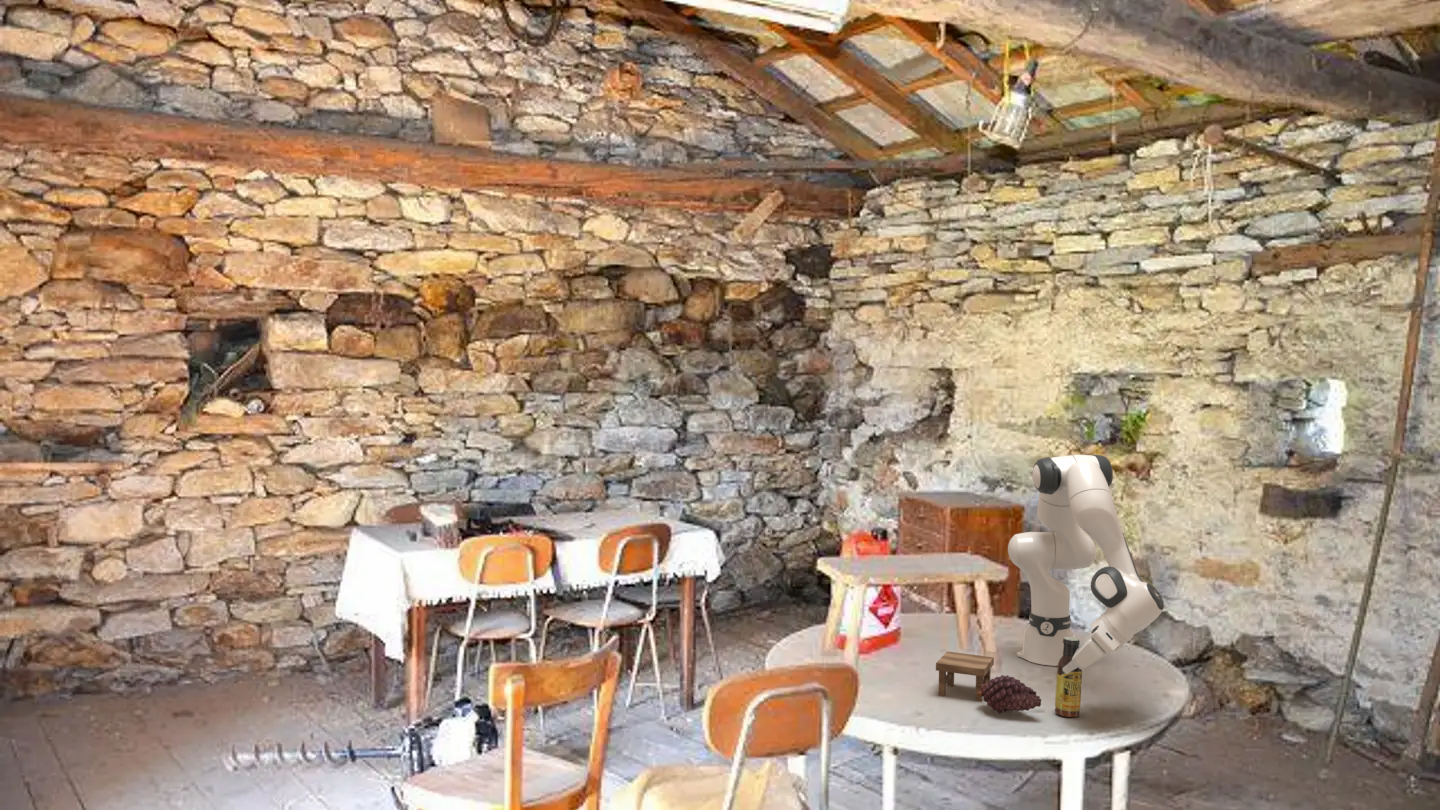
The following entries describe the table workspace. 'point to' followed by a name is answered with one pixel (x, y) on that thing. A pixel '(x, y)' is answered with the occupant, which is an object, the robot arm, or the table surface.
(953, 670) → the light brown wooden stool
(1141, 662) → the table surface
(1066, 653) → the sauce bottle
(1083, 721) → the table surface
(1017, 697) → the pine cone
